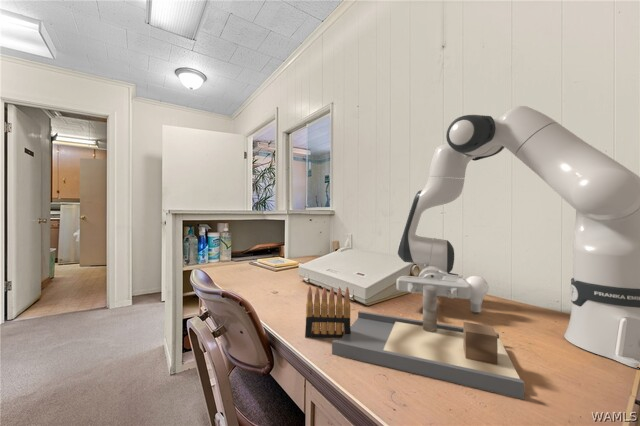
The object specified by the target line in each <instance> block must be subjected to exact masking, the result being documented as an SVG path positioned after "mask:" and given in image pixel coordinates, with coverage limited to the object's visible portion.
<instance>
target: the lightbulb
mask: <svg viewBox="0 0 640 426" xmlns="http://www.w3.org/2000/svg"><path fill="white" fill-rule="evenodd" d="M465 280H466V281H467V282H468V283H469V284H470V286H471V298H470V299H469V302H470V310H471V312H473V313H475V314H479V313H482V304H483V301H484V298H485V297H486V295H487V294H488V292H489V287H490V286H489V284H488V281H487V280H486V279H485V278H483V277H481V276H479V275H471V276H468V277H467V278H466V279H465Z"/></svg>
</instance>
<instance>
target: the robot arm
mask: <svg viewBox="0 0 640 426" xmlns="http://www.w3.org/2000/svg"><path fill="white" fill-rule="evenodd" d="M445 137H446V138H445V139H446V141H447V143H442V144H441V145H439V146H437V147H436V148H435V149H434V152H433V155H432V156H431V157H432V158H431V162H430V165H429V171H428V177H427V182H426V184H425V186H424V187H423V188H422V189H421V190H418V191H417V193H416V194H415V196H414V198H413V201H412V204H411V208H410V210H409V213H408V216H407V220H406V223H405V226H404V230H403V233H402V236H401V238H400V240H399V241H398V245H397V255H398V257H399V258H400V259H401V260H402V261H403V262H404V263H409V264H420V265H424V266H423V267H422V268H421V270H420V271H419V274H418V276H415V275H414V276H413V275H412V276H411V275H401V276H399V277H397V278H396V286H395V287H396V290H397V291H399V292H403V293H404V292H405V293H410V294H414V295H417V294H422V295H423V285H432V286H436V287H437V298H438V297H440V298H442V297H446V298H447V299H451V300H452V299H453V300H454V298H456V299H463V300H470V298H471V286H470V284H469V283H468V282H467V281H466V279H464V276H463V275H462V274H457V273H452V272H451V271H453V268H454V266H455V265H454V264H455V249H454V247H453V245H452V243H451V242H450V241H449V240H447V239H441V238H434V237H427V236H420V235H417V234H416V232H417V229H418V225H419V223H420V220H421V217H422V215H423V213H424V212H425V211H426V210H429V209H431V208H434V207H439V206H442V205H447V204H450V203H452V202H454V201H456V200H457V199H458V198H459V197H460V196H461V195H462V192H463V189H464V183H465V177H466V171H467V166H468V164H469V162H471V161H479V160H483V159H486V158H489V157H493V156H496V155H498V154H499V153H501V152H502V151H503V150H505V149H506V150H508V151H510V153H512V154H513V155H514V156H515V157H516V158H518V160H519V161H521V162H522V163H523V164H524V165H525V166H527V167H528V168H529V169H530V170H531V171H533V172H534V173H535V174H536V175H537V176H538V177H539V178H541V180H543V181H544V183H546V184H547V185H548V186H549V187H550V188H551V189H553V191H554V192H556V193H557V194H558V195H559V196H560V197H561V198H562V199H563V200H564V201H565V202H566V203H568V204H569V205H570V206H571V207H572V208H573V209H574V210H575V224H574V225H575V226H574V234H573V236H574V237H573V244H572V247H573V249H572V254H573V258H572V260H573V262H572V263H573V264H572V265H573V266H572V267H573V270H572V271H573V272H572V273H573V275H572V276H573V277H571V279H570V287H569V291H570V292H569V295H570V296H569V297H570V301H571V303H572V304H571V311H570V317H569V323H568V325H567V328H566V331H565V333H564V335H563V336H564V338H565V339H566V341H568V342H569V343H571V344H572V345H574V346H577V347H578V348H581V350H582V349H583V350H585V351H588V352H590V353H593V354H597V355H598V356H602V357H605V358H608V359H611V360H614V361H617V362H618V363H621V364H624V365H626V366H629V367H631V368H634V369H638V368H637V367H638V365H639V364H640V176H639V175H638V174H637V173H635V172H633V171H632V170H630V169H629V168H627V167H626V166H624V165H623V164H621V163H620V162H618V161H616V159H613V158H611V157H610V156H609V155H607V154H605V153H604V152H602V151H601V150H599V149H598V148H596V147H594V146H592V145H591V144H589V143H588V142H586V141H585V140H583V139H582V138H580V137H579V136H577V135H576V134H574V133H573V132H572V131H571V130H569V129H567V128H566V127H565V126H563V125H562V124H560V123H559V122H557V121H556V120H555V119H553V118H552V117H550V116H548V115H547V114H544V113H542V112H540V111H539V110H537V109H534V108H531V107H529V106H526V105H517V106H515V107H512V108H510V109H509V110H507V111H505V112H504V113H503V114H502V115H501V116H500V117H498V118H493V116H491V115H482V114H468V115H467V114H466V115H462V116H459V117H457V118H456V119H455V118H454V120H453V121H452V122H451V123H450V124H449V126H448V127H447V130H446V136H445Z"/></svg>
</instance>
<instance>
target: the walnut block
mask: <svg viewBox="0 0 640 426" xmlns="http://www.w3.org/2000/svg"><path fill="white" fill-rule="evenodd" d="M462 323H463V325H462V326H463V347H464V353H465V358H466V359H471V360H476V361H481V362H486V363H491V364H496V365H498V347H497V335H496V333H497V332H496V330H495V329H494V327H493V326H492V325H487V324H480V323H474V322H468V321H467V322H466V321H463V322H462Z"/></svg>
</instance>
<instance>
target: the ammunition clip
mask: <svg viewBox="0 0 640 426" xmlns="http://www.w3.org/2000/svg"><path fill="white" fill-rule="evenodd" d="M312 290H313V289H312V287H311V286H309V287H308V289H307V297H306V305H305V330H304V332H305V333H304V338H309V339H312V338H315V339H317V338H319V339H341V338H342V336H343V335H344V334H351V329H350V327H351V303H350V302H351V299H350V292H349V288H348V286H347V287H346V288H345V291H344V300H343V293H342V289H341V287H340V286H339V287H338V289H337V293H336V299H335V289H334V287H333V286H331V288H330V290H329V295H328V293H327V289H326V286H323V288H322V292H321V297H320V290H319V286H316V287H315V290H314V300H313V291H312ZM328 296H329V297H328ZM320 298H321V299H320ZM335 300H336V302H335ZM343 301H344V302H343Z"/></svg>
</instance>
